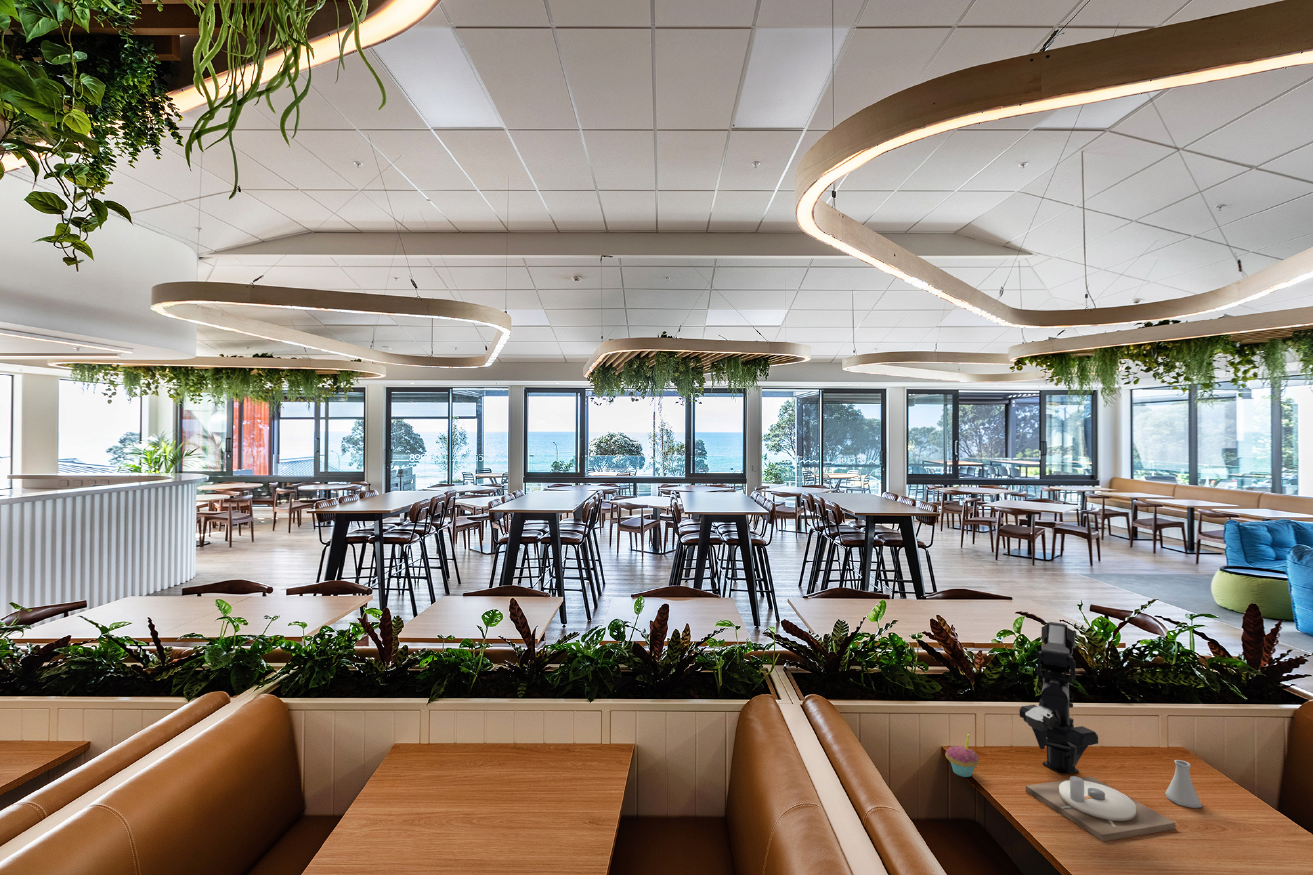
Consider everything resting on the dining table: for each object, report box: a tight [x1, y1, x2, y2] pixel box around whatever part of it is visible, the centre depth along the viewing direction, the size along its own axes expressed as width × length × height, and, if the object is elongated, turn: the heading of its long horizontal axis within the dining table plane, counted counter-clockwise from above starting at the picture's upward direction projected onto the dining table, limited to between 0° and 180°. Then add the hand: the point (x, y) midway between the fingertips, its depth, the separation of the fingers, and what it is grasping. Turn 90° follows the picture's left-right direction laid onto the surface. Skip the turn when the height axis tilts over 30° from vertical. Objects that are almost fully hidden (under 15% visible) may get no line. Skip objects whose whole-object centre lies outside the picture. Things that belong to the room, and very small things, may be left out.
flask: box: [1164, 759, 1203, 809], centre depth 159 cm, size 7×7×10 cm
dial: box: [1059, 775, 1136, 821], centre depth 155 cm, size 16×16×6 cm
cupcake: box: [945, 731, 980, 778], centre depth 172 cm, size 9×8×12 cm
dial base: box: [1025, 776, 1176, 842], centre depth 155 cm, size 22×22×2 cm
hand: (1057, 756), depth 159 cm, fingers open, 9 cm apart
